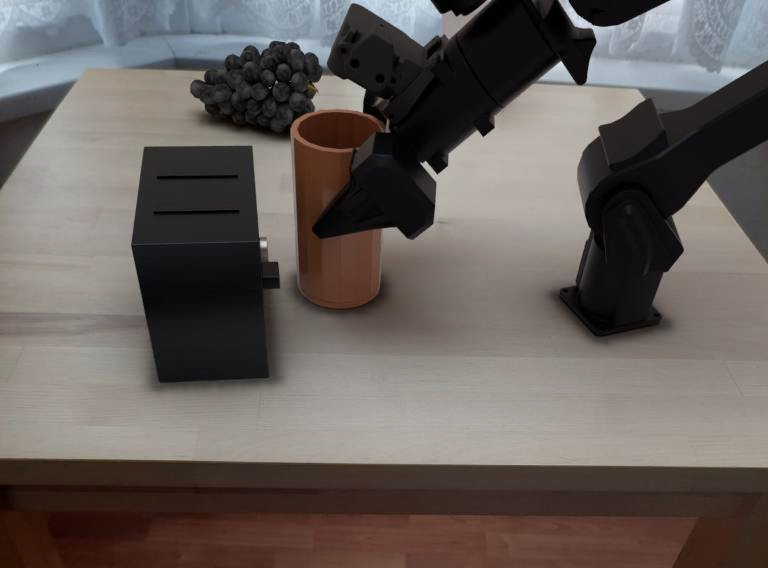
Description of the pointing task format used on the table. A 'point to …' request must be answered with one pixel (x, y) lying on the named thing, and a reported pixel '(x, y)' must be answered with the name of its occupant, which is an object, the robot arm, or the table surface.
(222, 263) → the toaster
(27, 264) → the table surface
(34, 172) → the table surface
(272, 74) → the fruit
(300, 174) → the brown cylindrical vase
